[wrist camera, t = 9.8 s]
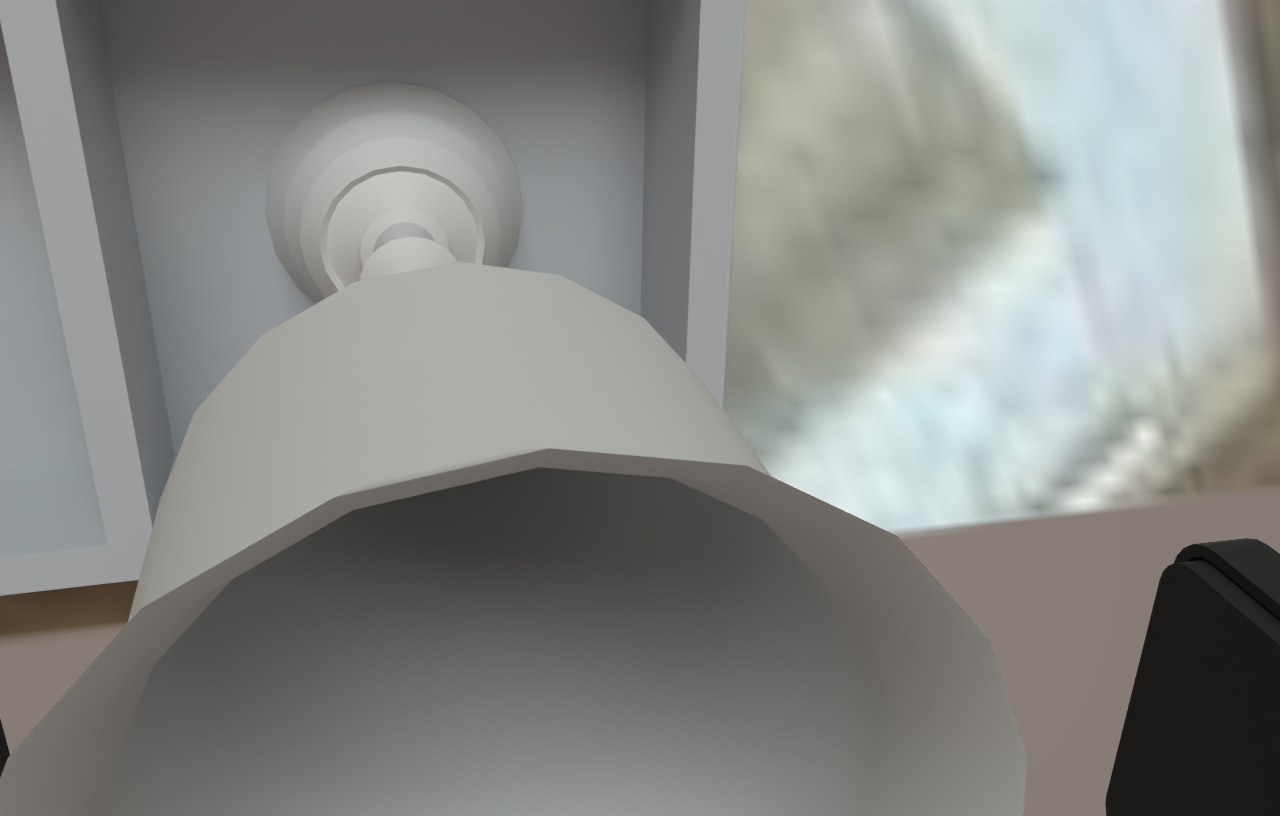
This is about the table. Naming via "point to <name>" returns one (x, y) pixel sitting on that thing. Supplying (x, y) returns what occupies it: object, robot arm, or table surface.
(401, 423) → the chalice
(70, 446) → the holder
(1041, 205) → the table surface
